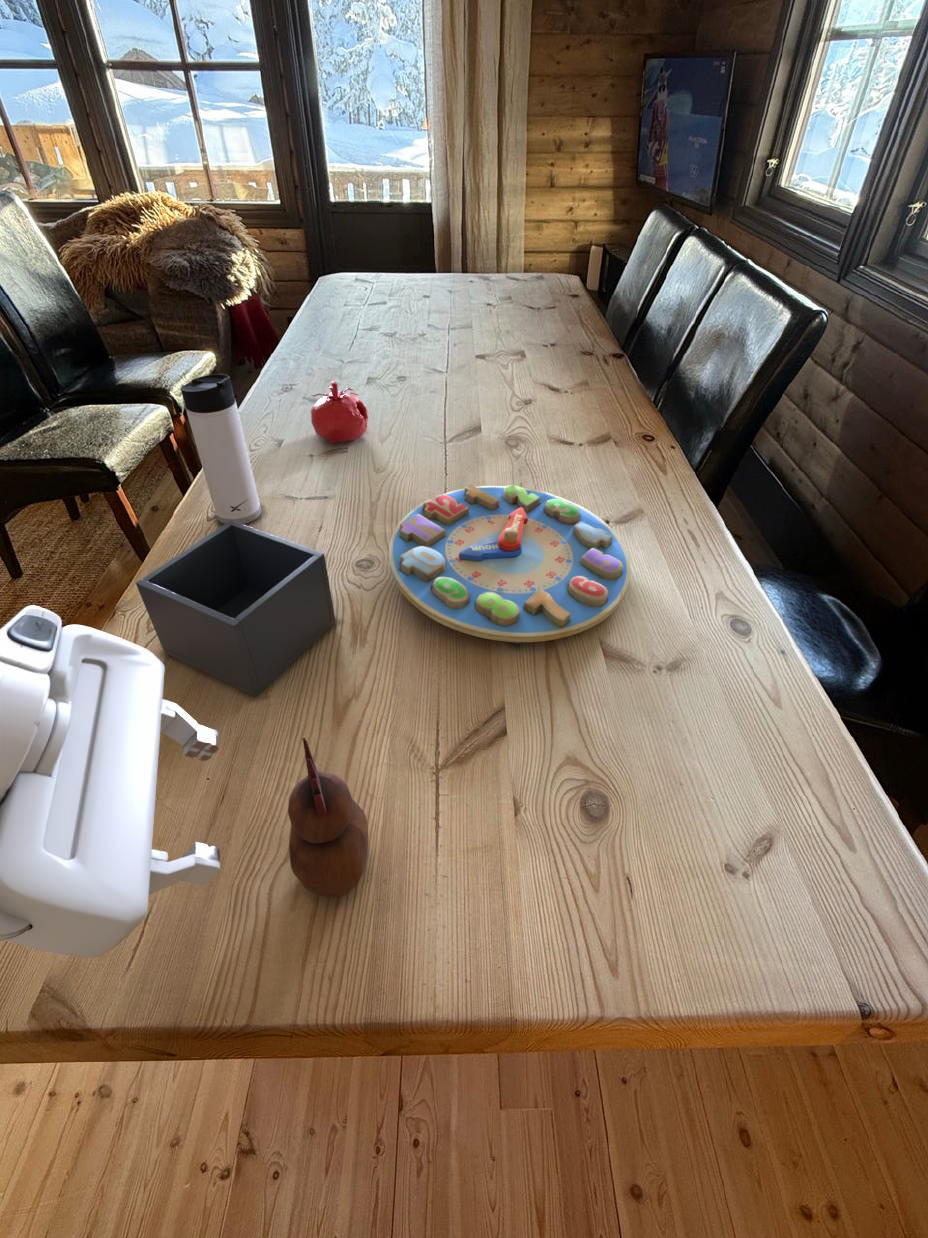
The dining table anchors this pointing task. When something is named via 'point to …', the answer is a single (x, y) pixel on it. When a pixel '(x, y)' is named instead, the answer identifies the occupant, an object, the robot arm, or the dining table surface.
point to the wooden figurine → (326, 833)
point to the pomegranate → (339, 416)
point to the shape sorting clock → (509, 563)
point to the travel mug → (222, 447)
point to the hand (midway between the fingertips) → (214, 802)
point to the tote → (240, 605)
